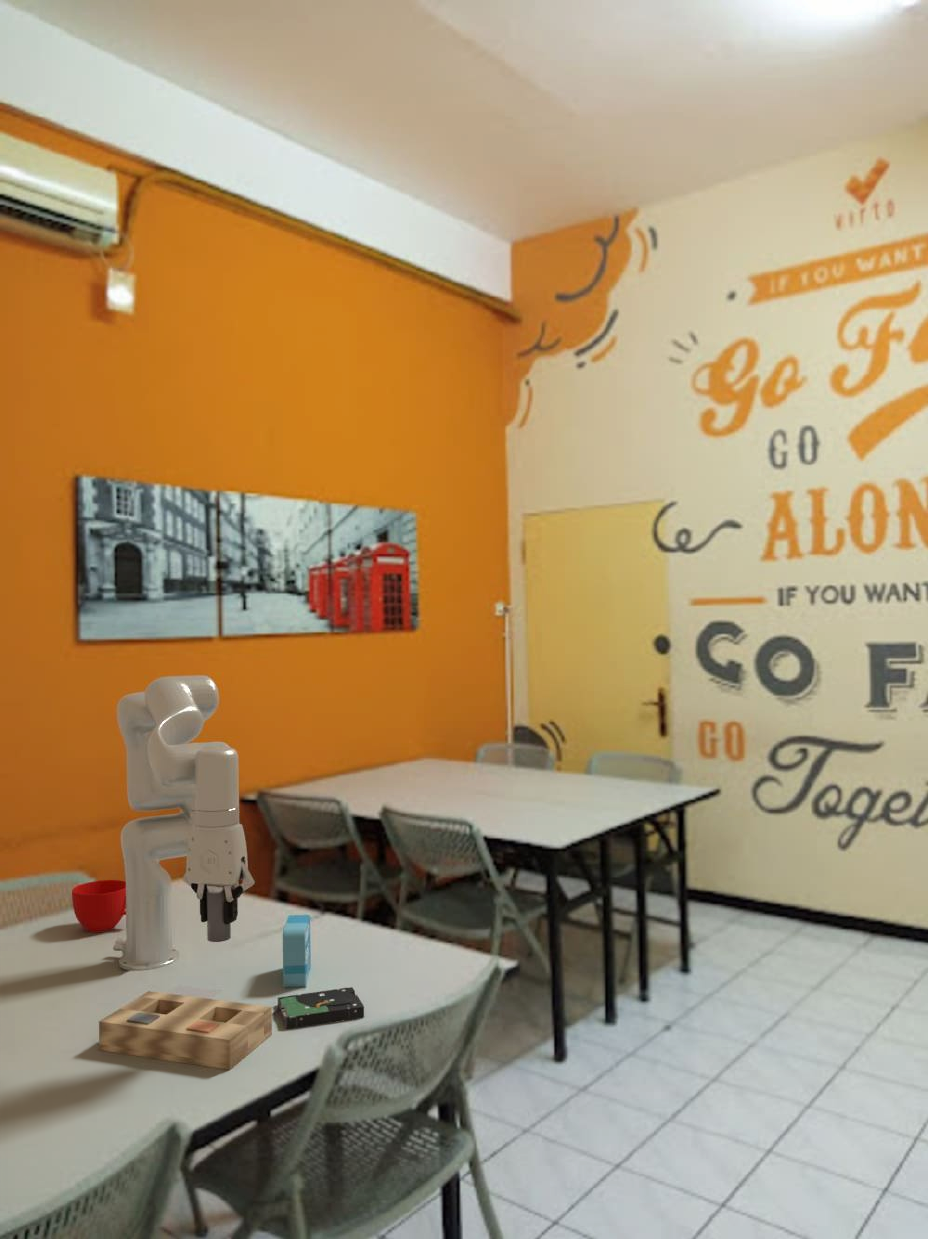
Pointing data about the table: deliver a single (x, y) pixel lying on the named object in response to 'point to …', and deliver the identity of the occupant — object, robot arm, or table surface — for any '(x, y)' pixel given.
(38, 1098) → the table surface
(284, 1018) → the disk drive
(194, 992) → the rubber mat
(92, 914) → the ceramic cup
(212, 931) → the plug
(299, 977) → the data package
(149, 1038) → the socket block
